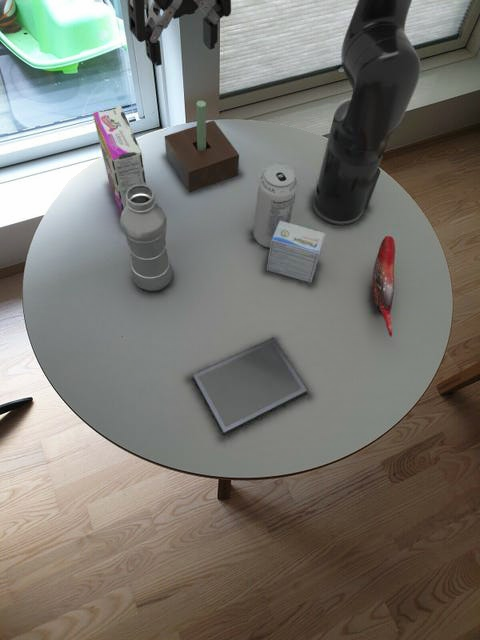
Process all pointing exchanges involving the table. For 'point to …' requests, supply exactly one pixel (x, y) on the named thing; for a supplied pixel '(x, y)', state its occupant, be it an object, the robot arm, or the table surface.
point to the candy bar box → (119, 153)
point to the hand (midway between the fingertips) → (183, 54)
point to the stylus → (201, 126)
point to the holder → (201, 157)
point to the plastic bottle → (146, 239)
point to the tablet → (249, 385)
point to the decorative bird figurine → (384, 279)
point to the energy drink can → (274, 201)
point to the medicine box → (295, 251)
